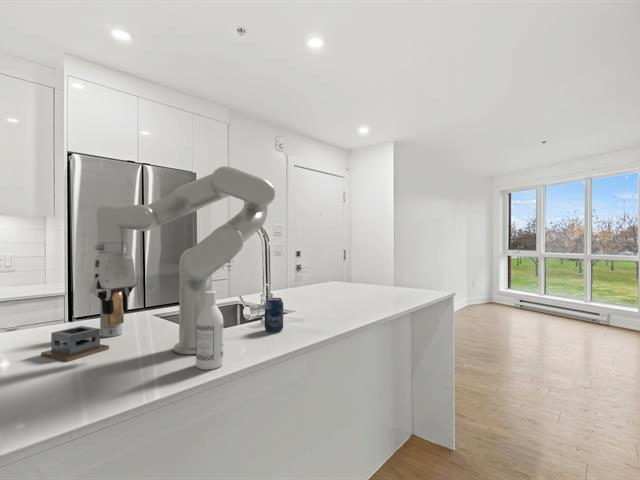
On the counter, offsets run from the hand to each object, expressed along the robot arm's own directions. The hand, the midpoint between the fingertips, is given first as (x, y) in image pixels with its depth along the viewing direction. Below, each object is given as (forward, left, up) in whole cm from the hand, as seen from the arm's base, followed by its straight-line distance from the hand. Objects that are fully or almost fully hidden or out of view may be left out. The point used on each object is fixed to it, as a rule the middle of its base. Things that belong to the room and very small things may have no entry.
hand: (115, 311), depth 98 cm
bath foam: (-29, -5, -13) cm, 33 cm away
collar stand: (+15, +2, -13) cm, 20 cm away
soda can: (-27, -43, -13) cm, 53 cm away
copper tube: (0, 0, -3) cm, 3 cm away
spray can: (+23, -15, -13) cm, 30 cm away
